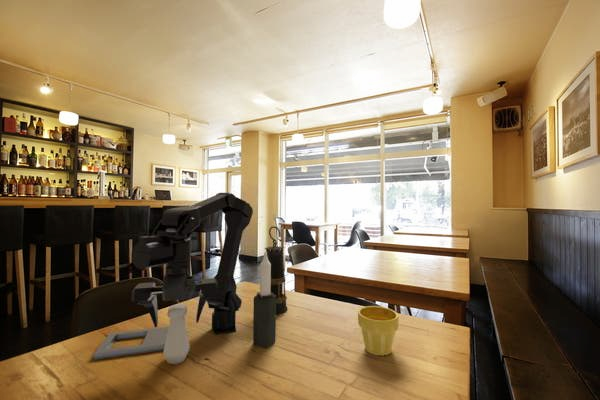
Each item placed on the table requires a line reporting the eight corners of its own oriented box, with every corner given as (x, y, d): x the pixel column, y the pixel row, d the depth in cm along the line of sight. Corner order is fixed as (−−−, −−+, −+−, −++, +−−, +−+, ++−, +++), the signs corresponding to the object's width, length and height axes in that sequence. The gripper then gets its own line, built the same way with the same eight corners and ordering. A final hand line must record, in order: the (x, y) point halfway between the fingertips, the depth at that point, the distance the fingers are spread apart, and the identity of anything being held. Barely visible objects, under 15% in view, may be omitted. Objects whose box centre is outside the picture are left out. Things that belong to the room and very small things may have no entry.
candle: (277, 340, 78) (278, 251, 79) (267, 349, 74) (268, 254, 74) (261, 336, 81) (262, 249, 81) (251, 344, 76) (252, 252, 76)
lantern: (277, 303, 107) (278, 224, 107) (292, 310, 100) (294, 226, 100) (257, 309, 101) (258, 226, 101) (272, 317, 94) (273, 227, 94)
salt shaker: (179, 367, 65) (180, 311, 65) (157, 364, 66) (158, 309, 66) (194, 354, 71) (194, 302, 71) (173, 351, 72) (174, 300, 72)
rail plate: (186, 329, 84) (186, 324, 84) (183, 347, 74) (183, 341, 74) (109, 338, 78) (109, 333, 78) (93, 359, 68) (93, 353, 68)
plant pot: (350, 351, 73) (351, 313, 73) (367, 336, 82) (367, 302, 82) (390, 365, 67) (390, 324, 67) (403, 348, 75) (403, 311, 75)
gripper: (125, 270, 58) (123, 346, 58) (219, 265, 64) (217, 334, 64) (138, 259, 69) (137, 323, 69) (217, 256, 74) (216, 315, 74)
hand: (177, 324), depth 69 cm, fingers open, 9 cm apart
